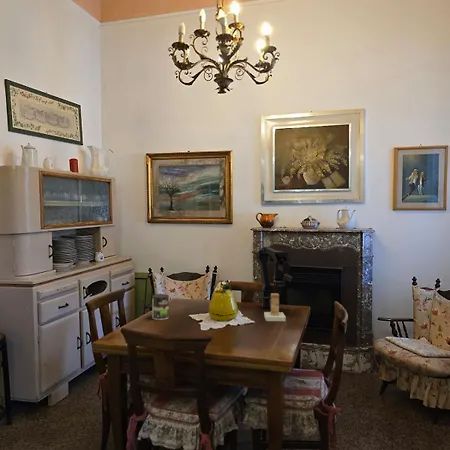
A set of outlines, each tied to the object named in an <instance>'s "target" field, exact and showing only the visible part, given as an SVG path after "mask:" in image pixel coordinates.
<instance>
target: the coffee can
mask: <svg viewBox="0 0 450 450" xmlns="http://www.w3.org/2000/svg"><path fill="white" fill-rule="evenodd" d="M151 297H152V301H151V304H152V307H151V308H152V311H151V312H152V313H151V314H152V315H151V316H152V317H151V318H152V319H153V320H156V321H164V320H168V319H169V315H170V313H169V310H170V308H169V306H170V305H169V299H170V298H169V297H170V295H168V294H165V293H158V294H157V293H156V294H153V295H152V296H151Z"/></svg>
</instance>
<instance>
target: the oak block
mask: <svg viewBox="0 0 450 450" xmlns="http://www.w3.org/2000/svg"><path fill="white" fill-rule="evenodd" d="M270 312H271V315H272V316H279V312H280V295H279V294H278V293H277V292H276V293H271V308H270Z"/></svg>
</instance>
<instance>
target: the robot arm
mask: <svg viewBox="0 0 450 450" xmlns="http://www.w3.org/2000/svg"><path fill="white" fill-rule="evenodd" d="M270 256H271V257H272V259H273V263H274V271H273V273H274V275H273V277H272V283H273V285H272V284H271V280H270V275H269V268H268V262H269V258H270ZM255 257H256V261H257V263H258V264H259V265H260V267H259V268H260V273H261V280H262V287H261V292H260V294H259V299H261V300H262V304H261V308H262V309H271V293H275V291H276V293H277V294H279V296H281V294H282V291H283V288H284V287H285V286H286V281H288V282H289V283H290V282H291V281H292V279H293V277H292V276H291V275H290V274H289V272H290V271H291V265H290V264H289V263H288V258H287V255H286V253H285V251H284V250H283V251H282V250H275V248H272V247H271V246H263V247H262V248H261V249H260V250H258V251H257V252H256V254H255ZM274 289H275V290H274Z"/></svg>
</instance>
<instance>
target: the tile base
mask: <svg viewBox="0 0 450 450" xmlns="http://www.w3.org/2000/svg"><path fill="white" fill-rule="evenodd" d="M263 312H264V313H263V314H264V315H263V317H264V320H265V321H266V322H286V318H287V317H286V315H285V314H284V312H283V311H281V312H280V311H279V316H272V315H271V311H263Z"/></svg>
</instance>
